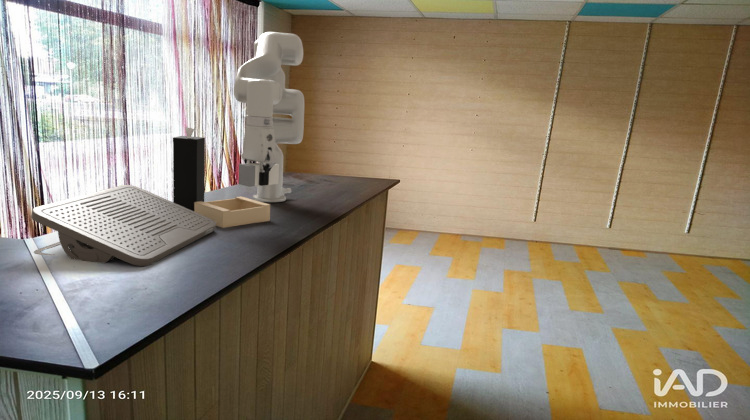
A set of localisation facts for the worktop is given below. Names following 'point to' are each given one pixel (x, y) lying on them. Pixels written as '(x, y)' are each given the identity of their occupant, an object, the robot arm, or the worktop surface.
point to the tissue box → (188, 169)
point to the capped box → (256, 174)
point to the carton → (234, 211)
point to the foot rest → (121, 226)
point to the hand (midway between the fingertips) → (257, 183)
